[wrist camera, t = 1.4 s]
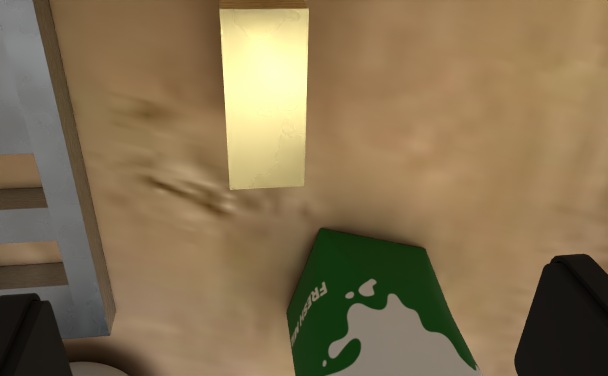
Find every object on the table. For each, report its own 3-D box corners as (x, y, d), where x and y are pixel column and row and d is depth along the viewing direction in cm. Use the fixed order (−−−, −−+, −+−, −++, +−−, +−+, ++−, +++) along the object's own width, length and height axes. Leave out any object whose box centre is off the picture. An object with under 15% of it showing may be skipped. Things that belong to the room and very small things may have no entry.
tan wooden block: (220, -26, 24) (219, 9, 18) (287, -26, 24) (308, 8, 18) (228, 119, 27) (230, 189, 21) (286, 117, 28) (304, 186, 22)
